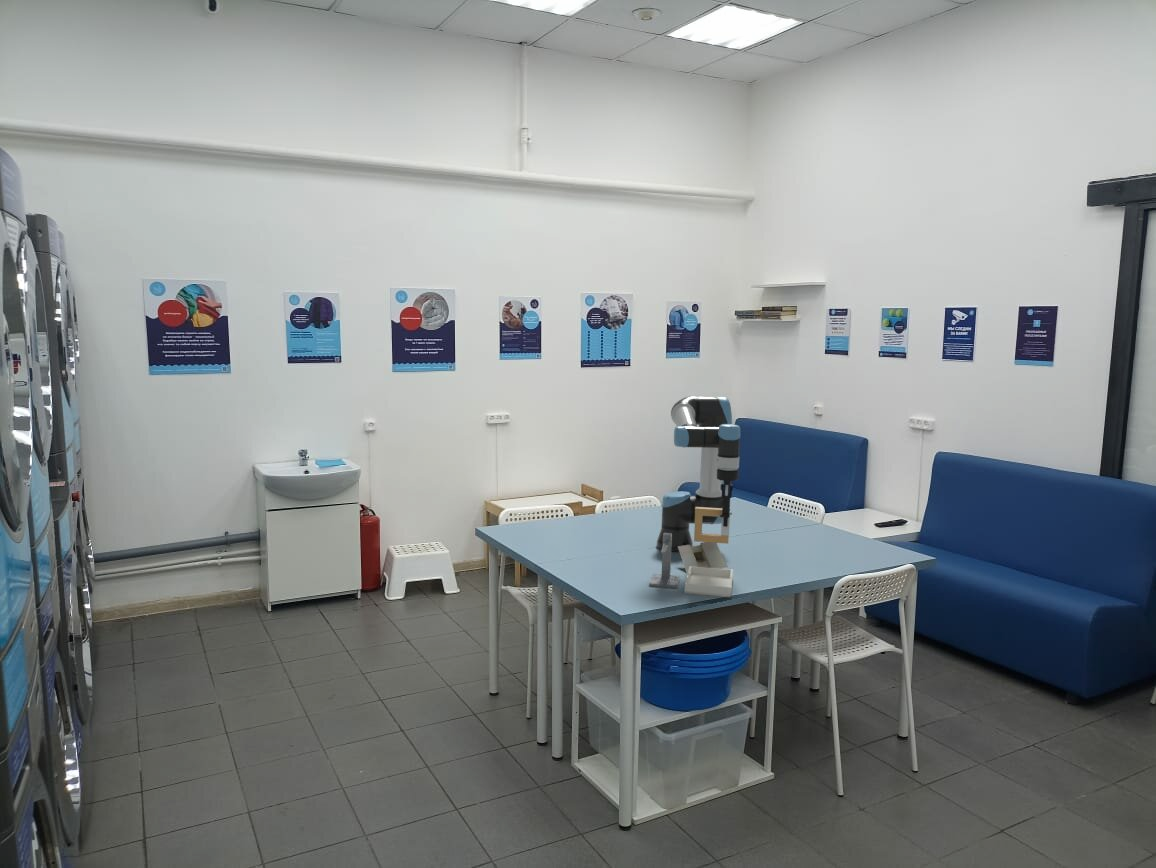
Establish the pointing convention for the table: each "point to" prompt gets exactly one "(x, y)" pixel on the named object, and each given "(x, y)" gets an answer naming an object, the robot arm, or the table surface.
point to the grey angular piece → (702, 556)
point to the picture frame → (698, 526)
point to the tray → (709, 581)
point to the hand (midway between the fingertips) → (725, 533)
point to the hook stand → (665, 567)
